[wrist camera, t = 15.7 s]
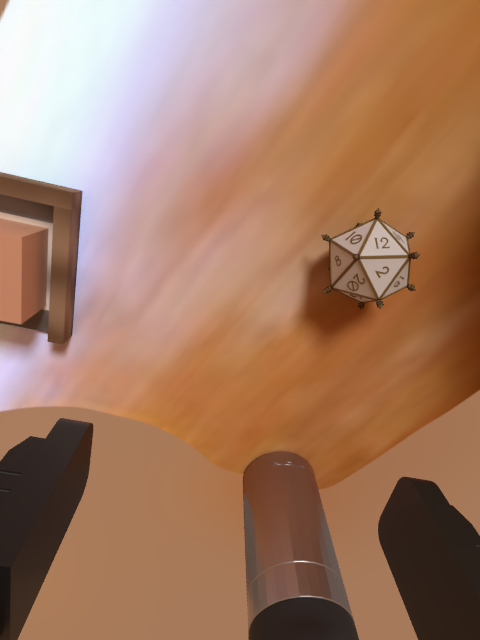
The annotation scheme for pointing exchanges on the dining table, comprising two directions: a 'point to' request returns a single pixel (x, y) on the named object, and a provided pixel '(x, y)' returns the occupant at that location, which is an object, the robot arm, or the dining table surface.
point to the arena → (64, 223)
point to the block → (22, 270)
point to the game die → (370, 261)
